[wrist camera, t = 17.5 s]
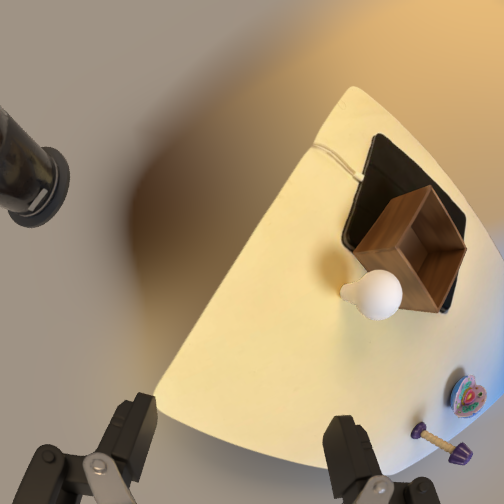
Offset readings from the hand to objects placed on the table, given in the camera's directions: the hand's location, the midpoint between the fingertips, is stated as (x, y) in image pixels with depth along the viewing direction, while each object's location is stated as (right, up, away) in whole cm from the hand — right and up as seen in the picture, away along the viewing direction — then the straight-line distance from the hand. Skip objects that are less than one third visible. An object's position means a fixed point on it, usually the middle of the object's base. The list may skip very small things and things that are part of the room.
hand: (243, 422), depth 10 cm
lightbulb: (+14, +2, +28) cm, 31 cm away
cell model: (+48, -26, +34) cm, 65 cm away
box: (+24, +7, +30) cm, 39 cm away
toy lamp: (+36, -32, +30) cm, 57 cm away
